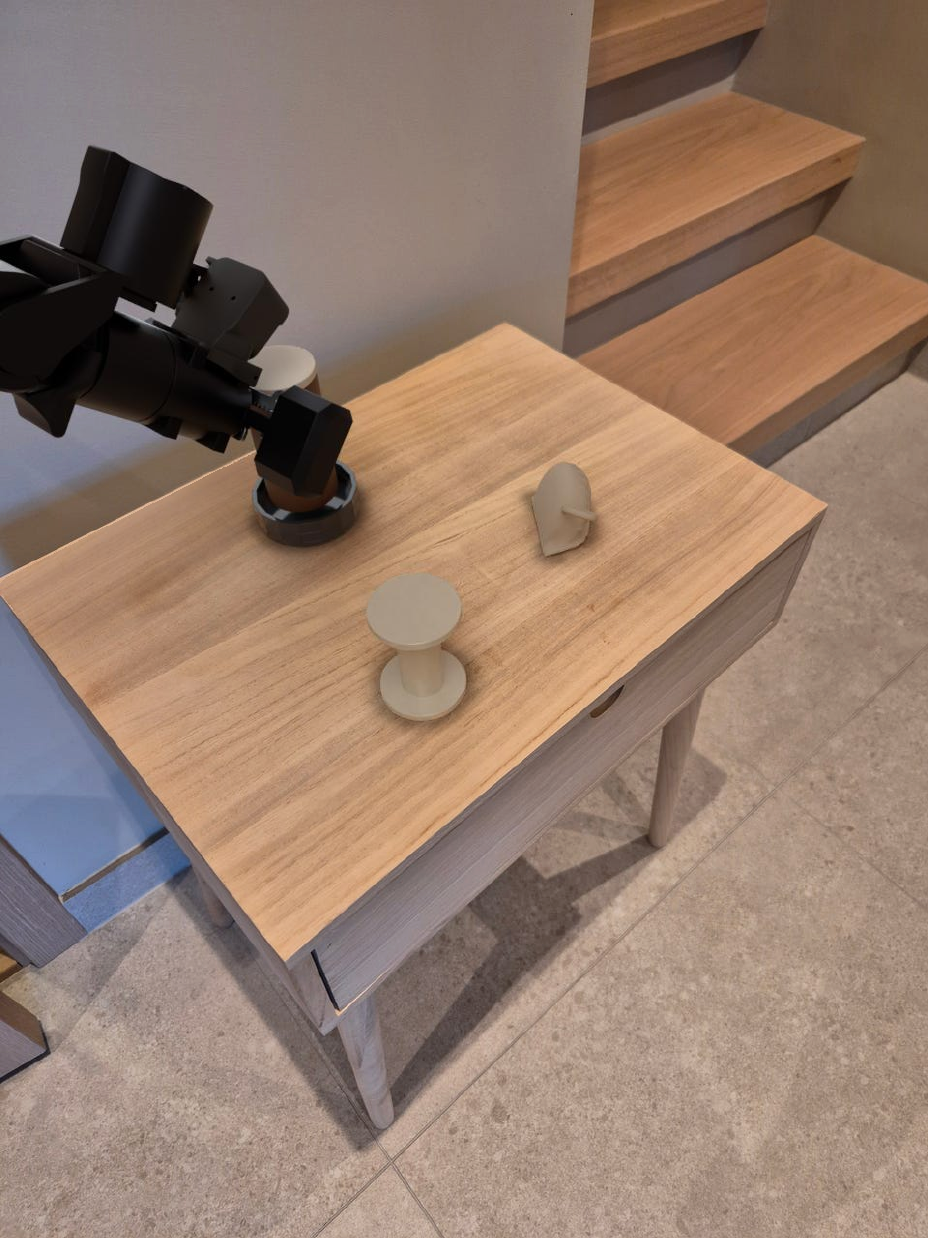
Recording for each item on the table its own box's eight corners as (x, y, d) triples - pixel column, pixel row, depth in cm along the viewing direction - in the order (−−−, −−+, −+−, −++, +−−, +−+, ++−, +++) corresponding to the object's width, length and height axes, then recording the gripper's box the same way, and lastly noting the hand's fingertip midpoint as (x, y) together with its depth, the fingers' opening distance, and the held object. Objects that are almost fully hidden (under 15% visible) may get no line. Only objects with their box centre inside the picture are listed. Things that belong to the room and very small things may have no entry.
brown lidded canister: (333, 513, 65) (308, 390, 56) (261, 513, 65) (226, 390, 57) (343, 466, 68) (321, 344, 60) (275, 466, 69) (243, 344, 60)
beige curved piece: (580, 493, 69) (585, 440, 65) (598, 567, 63) (605, 513, 59) (531, 497, 69) (532, 444, 65) (544, 571, 63) (547, 518, 59)
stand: (435, 735, 54) (426, 659, 48) (363, 697, 56) (346, 619, 50) (482, 673, 57) (480, 594, 51) (413, 639, 59) (402, 559, 53)
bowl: (316, 561, 65) (311, 538, 63) (238, 524, 68) (230, 500, 66) (380, 499, 69) (376, 476, 67) (303, 467, 72) (298, 443, 70)
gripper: (303, 286, 45) (444, 371, 58) (90, 201, 52) (260, 294, 66) (227, 481, 47) (381, 519, 60) (33, 371, 54) (209, 427, 68)
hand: (305, 432), depth 64 cm, fingers closed on brown lidded canister, 5 cm apart
